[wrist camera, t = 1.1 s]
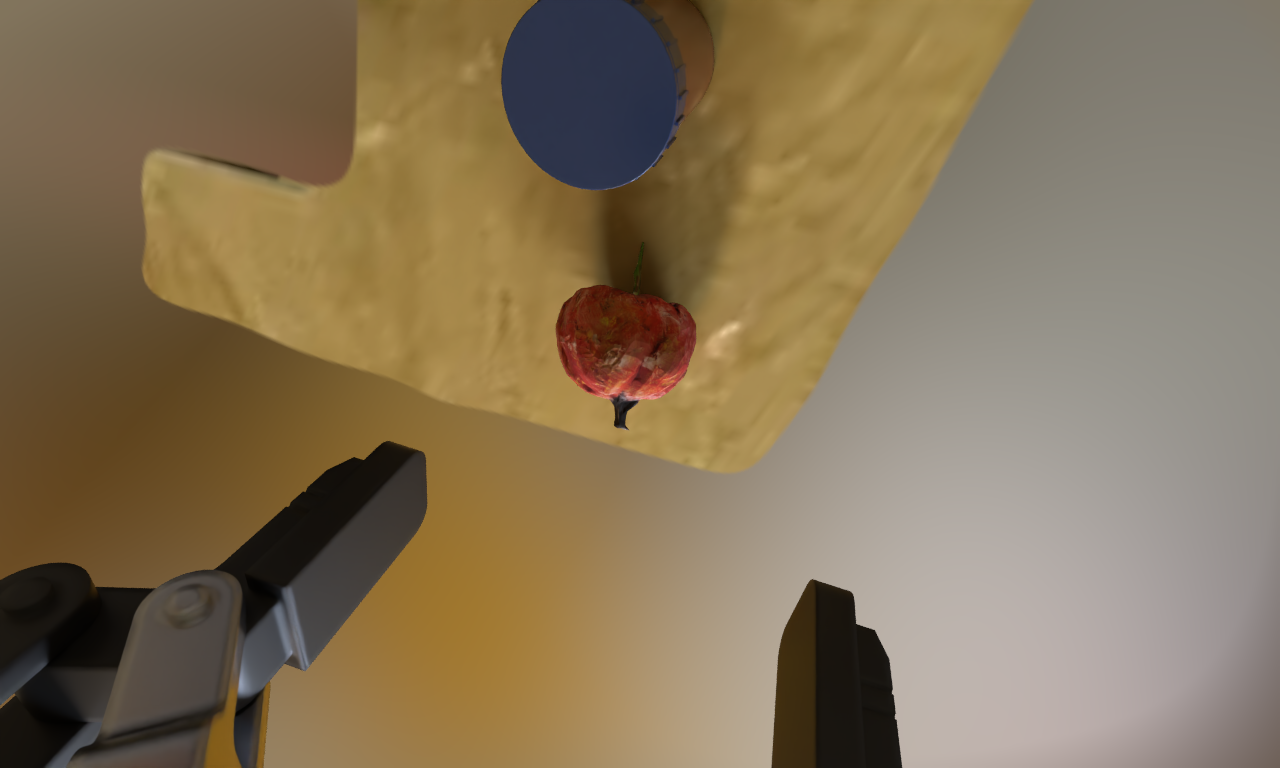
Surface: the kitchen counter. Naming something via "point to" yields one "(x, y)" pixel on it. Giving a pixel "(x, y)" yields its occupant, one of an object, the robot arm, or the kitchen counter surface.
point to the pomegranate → (624, 344)
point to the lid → (594, 89)
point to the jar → (689, 45)
